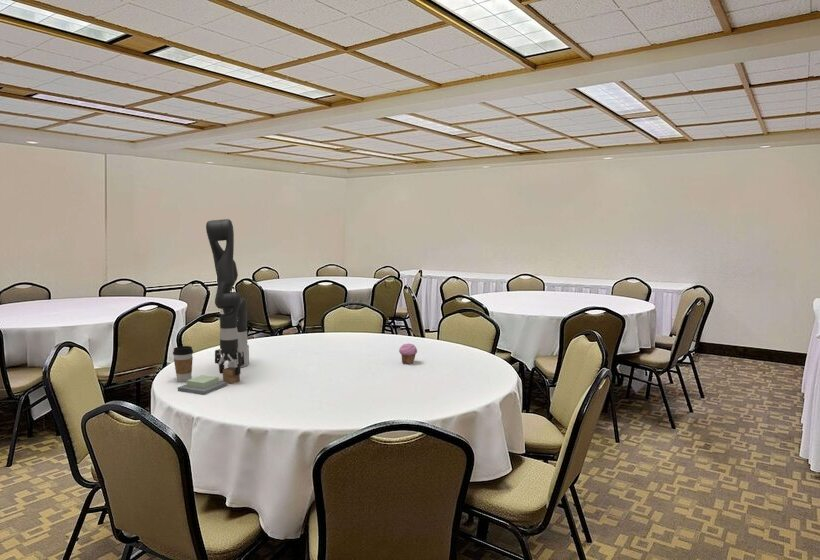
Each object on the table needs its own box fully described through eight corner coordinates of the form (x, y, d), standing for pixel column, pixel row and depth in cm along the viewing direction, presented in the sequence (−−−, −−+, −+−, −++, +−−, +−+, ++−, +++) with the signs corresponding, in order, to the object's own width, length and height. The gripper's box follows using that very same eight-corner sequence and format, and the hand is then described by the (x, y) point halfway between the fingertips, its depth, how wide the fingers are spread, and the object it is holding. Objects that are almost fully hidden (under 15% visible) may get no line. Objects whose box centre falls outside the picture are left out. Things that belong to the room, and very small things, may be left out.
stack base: (201, 381, 243) (201, 372, 243) (227, 385, 238) (227, 376, 237) (177, 390, 230) (177, 381, 230) (204, 394, 225) (204, 385, 224)
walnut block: (230, 379, 246) (230, 366, 246) (239, 381, 245) (239, 367, 244) (223, 382, 242) (222, 369, 241) (232, 384, 240) (232, 370, 239)
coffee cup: (172, 383, 240) (171, 349, 239) (175, 378, 248) (173, 345, 247) (193, 382, 242) (191, 348, 241) (195, 376, 251) (194, 344, 249)
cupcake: (396, 364, 274) (396, 344, 273) (404, 360, 281) (404, 340, 280) (412, 366, 270) (412, 346, 269) (420, 362, 277) (420, 342, 276)
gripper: (247, 337, 241) (248, 373, 243) (222, 335, 247) (222, 370, 248) (236, 340, 235) (237, 378, 236) (209, 338, 240) (210, 374, 242)
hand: (229, 374), depth 242 cm, fingers open, 8 cm apart
